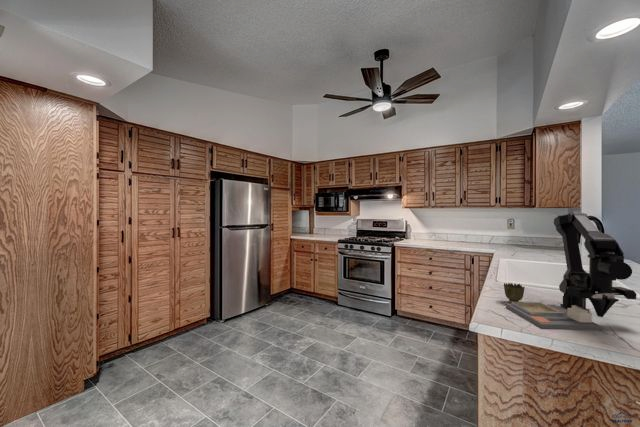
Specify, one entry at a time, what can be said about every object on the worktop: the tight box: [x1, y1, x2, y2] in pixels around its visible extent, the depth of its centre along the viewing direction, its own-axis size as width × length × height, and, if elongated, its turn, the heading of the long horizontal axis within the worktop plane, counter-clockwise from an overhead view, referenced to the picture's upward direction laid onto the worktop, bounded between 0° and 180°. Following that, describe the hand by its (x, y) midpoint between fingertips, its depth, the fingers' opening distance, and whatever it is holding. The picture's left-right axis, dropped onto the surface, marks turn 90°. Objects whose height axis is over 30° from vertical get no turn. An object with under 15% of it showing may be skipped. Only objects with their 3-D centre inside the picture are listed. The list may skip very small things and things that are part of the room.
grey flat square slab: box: [505, 303, 601, 331], centre depth 104 cm, size 19×20×2 cm
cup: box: [503, 282, 525, 304], centre depth 119 cm, size 8×7×8 cm
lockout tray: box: [510, 301, 564, 316], centre depth 107 cm, size 12×12×1 cm
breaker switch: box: [566, 305, 593, 323], centre depth 97 cm, size 4×5×4 cm
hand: (599, 316), depth 97 cm, fingers closed
